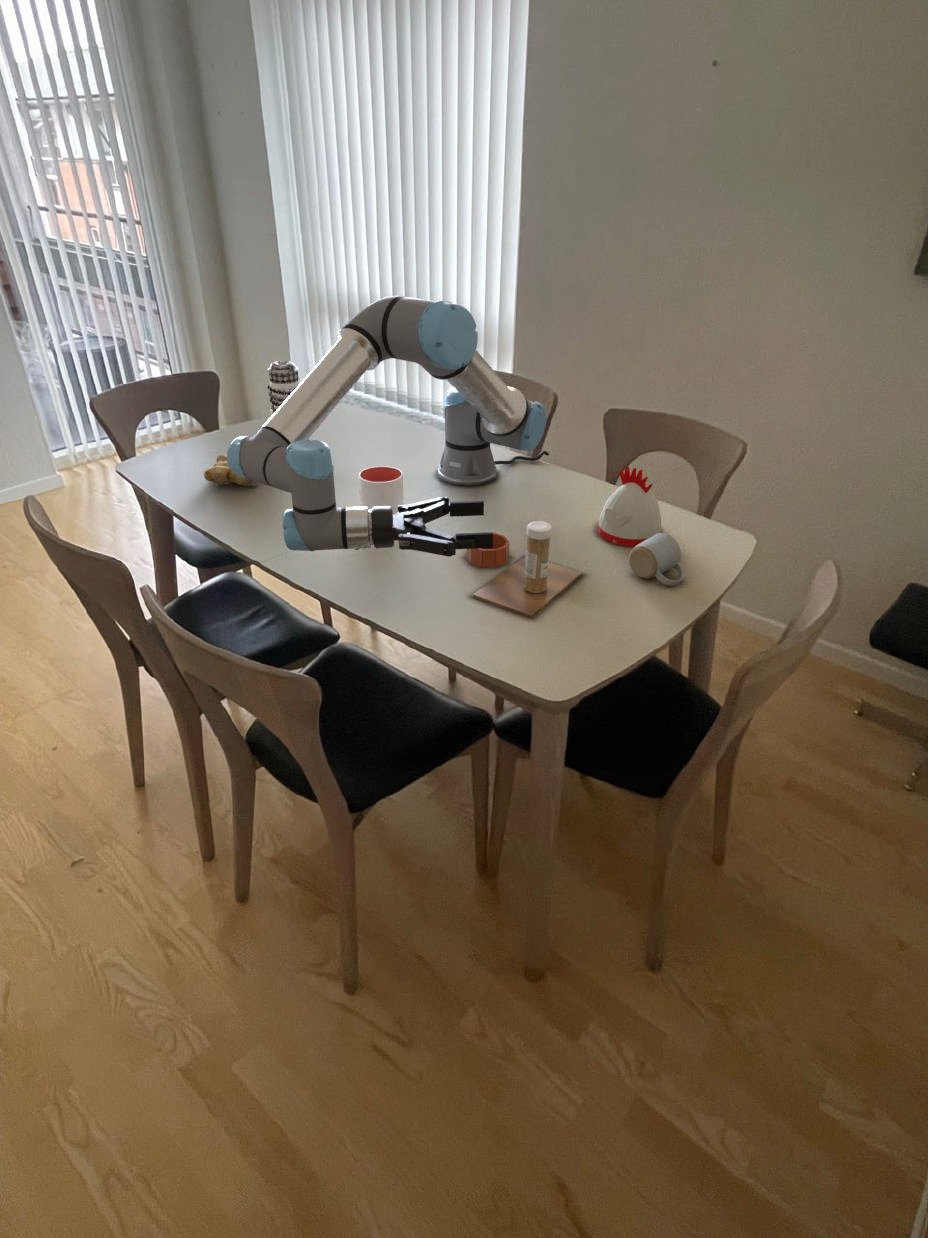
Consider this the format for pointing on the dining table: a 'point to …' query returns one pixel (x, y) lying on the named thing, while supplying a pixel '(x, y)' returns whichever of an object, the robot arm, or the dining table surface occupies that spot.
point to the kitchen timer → (630, 512)
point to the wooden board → (514, 596)
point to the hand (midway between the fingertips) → (488, 523)
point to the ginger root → (224, 473)
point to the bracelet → (490, 553)
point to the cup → (381, 487)
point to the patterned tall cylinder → (282, 382)
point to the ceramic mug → (657, 558)
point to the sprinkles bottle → (537, 556)
